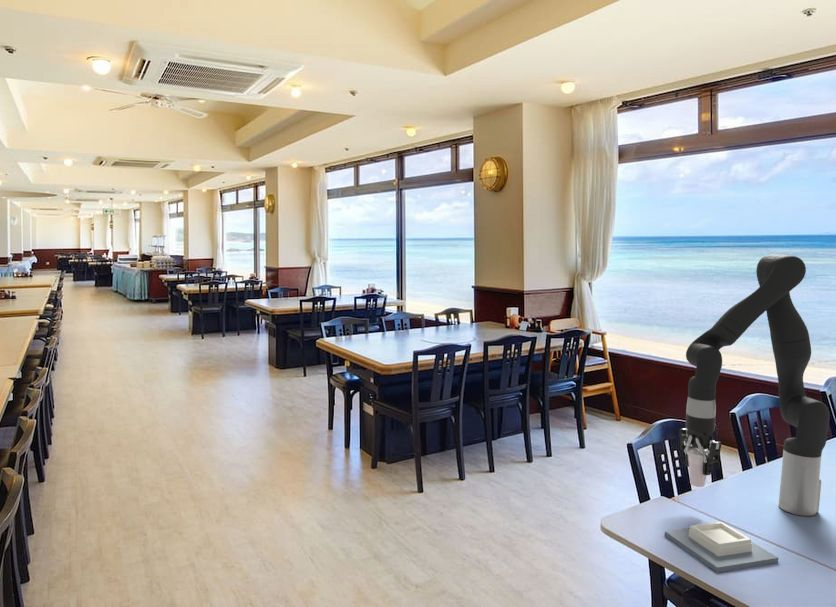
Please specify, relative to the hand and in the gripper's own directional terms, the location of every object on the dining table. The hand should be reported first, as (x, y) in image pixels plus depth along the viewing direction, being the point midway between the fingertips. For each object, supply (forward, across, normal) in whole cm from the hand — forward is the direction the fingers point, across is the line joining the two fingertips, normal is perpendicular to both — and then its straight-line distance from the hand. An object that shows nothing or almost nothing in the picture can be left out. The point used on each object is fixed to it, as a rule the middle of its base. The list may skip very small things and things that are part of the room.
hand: (697, 470), depth 168 cm
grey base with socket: (+12, -20, +10) cm, 25 cm away
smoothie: (+4, 0, 0) cm, 4 cm away
